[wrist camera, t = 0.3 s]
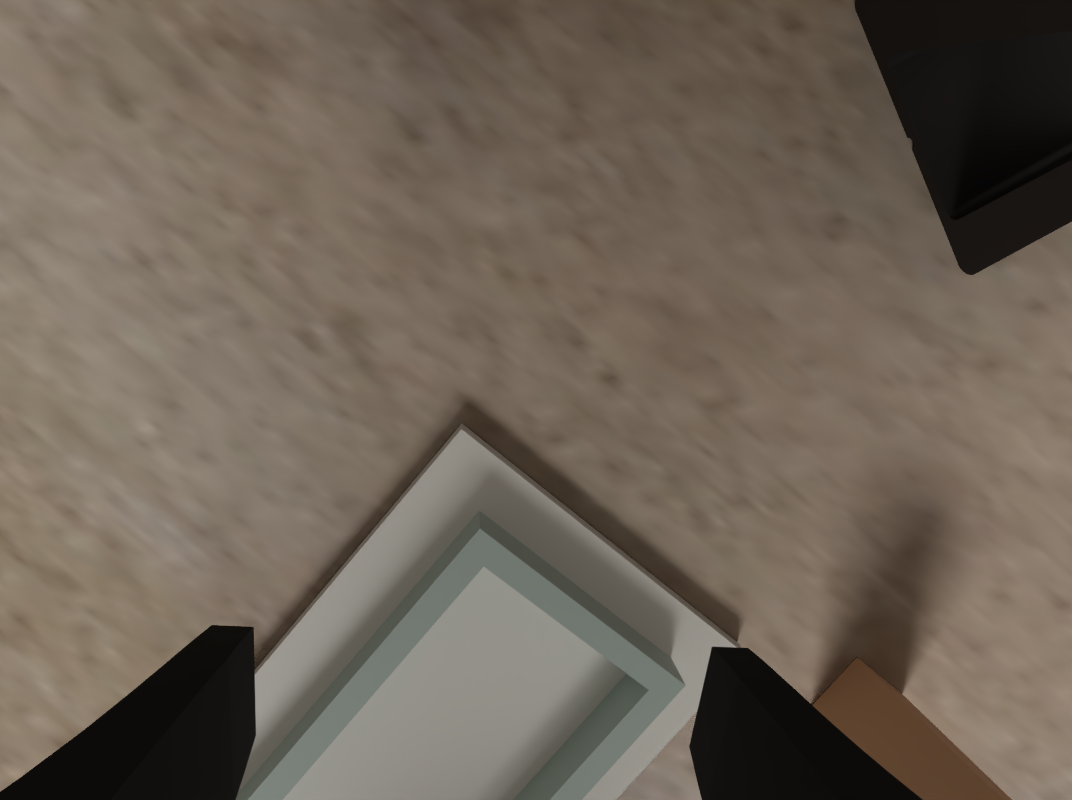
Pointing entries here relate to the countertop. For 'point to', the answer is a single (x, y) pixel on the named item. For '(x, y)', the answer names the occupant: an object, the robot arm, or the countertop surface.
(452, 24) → the countertop surface
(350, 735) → the cradle
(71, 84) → the countertop surface
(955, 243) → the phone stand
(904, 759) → the tan square block
